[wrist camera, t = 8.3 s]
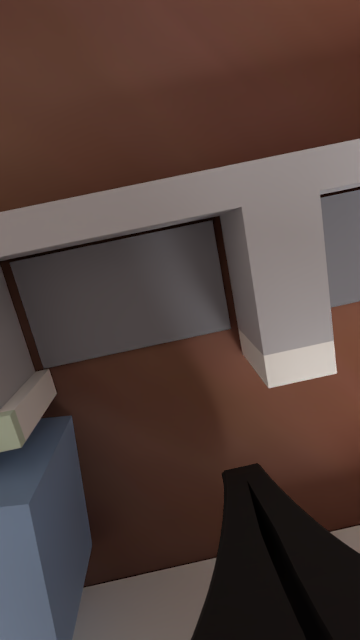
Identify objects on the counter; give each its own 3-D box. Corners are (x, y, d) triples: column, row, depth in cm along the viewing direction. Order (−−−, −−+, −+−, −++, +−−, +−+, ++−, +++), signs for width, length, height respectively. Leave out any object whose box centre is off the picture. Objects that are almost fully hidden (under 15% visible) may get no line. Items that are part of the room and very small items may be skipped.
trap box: (588, 491, 15) (706, 559, 12) (-47, 636, 14) (-105, 747, 11) (634, 97, 11) (825, 41, 8) (-227, 275, 11) (-392, 290, 7)
